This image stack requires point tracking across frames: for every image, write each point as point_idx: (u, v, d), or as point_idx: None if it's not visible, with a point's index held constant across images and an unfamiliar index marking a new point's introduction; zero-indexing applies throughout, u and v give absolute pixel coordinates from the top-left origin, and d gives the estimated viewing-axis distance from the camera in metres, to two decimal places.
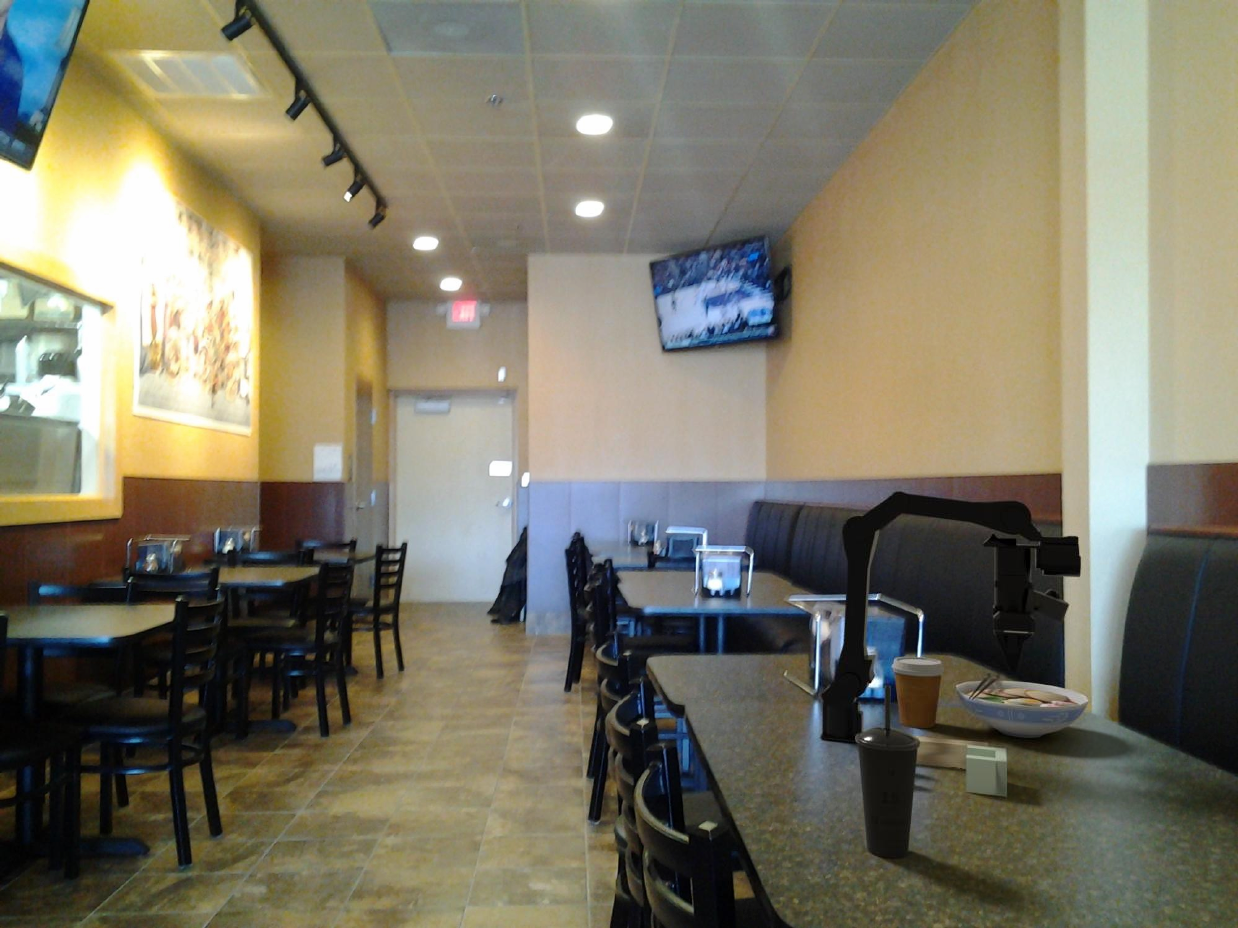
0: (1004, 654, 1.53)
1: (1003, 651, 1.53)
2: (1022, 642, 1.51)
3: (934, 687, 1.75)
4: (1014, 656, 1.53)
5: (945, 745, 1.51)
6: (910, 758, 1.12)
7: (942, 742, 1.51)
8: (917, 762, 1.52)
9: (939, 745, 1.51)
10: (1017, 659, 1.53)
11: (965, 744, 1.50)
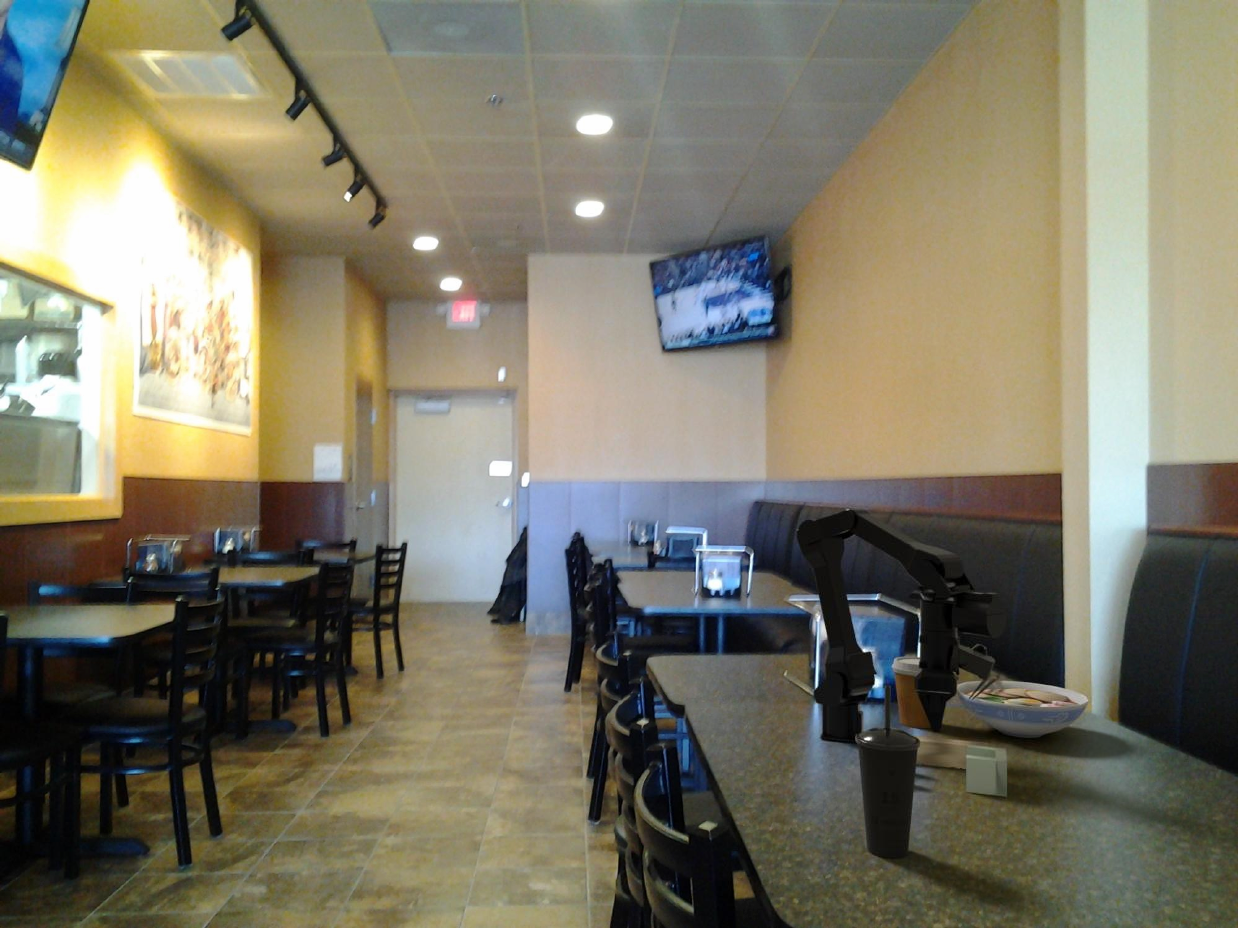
0: (927, 713, 1.48)
1: (926, 710, 1.48)
2: (944, 702, 1.46)
3: None
4: (937, 716, 1.47)
5: (945, 745, 1.51)
6: (910, 758, 1.12)
7: (942, 742, 1.51)
8: (917, 762, 1.52)
9: (939, 745, 1.51)
10: (940, 719, 1.47)
11: (965, 744, 1.50)
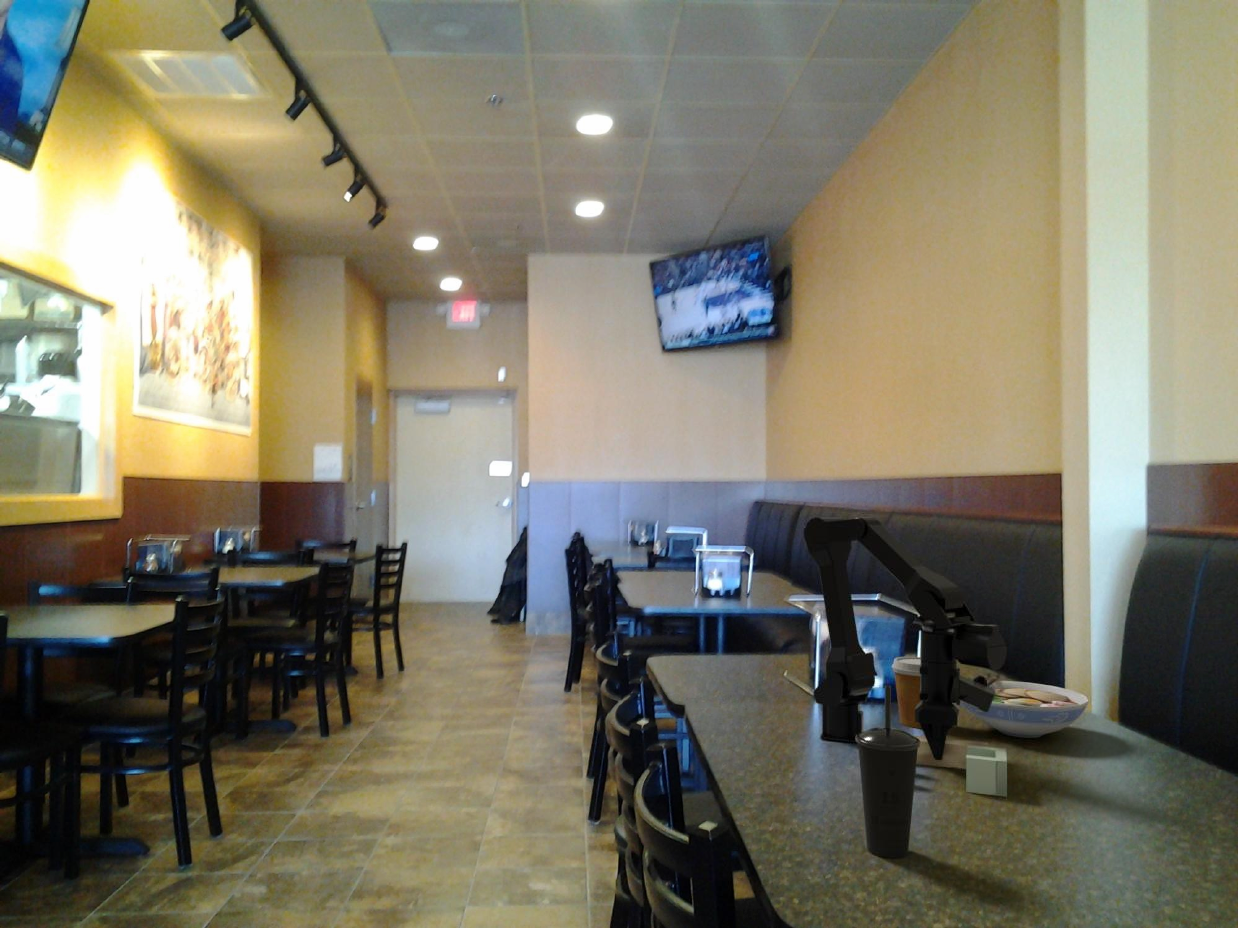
0: (928, 741, 1.50)
1: (927, 738, 1.50)
2: (946, 730, 1.49)
3: None
4: (938, 744, 1.50)
5: (945, 745, 1.50)
6: (910, 758, 1.12)
7: None
8: (917, 762, 1.52)
9: None
10: (941, 747, 1.50)
11: (965, 744, 1.50)
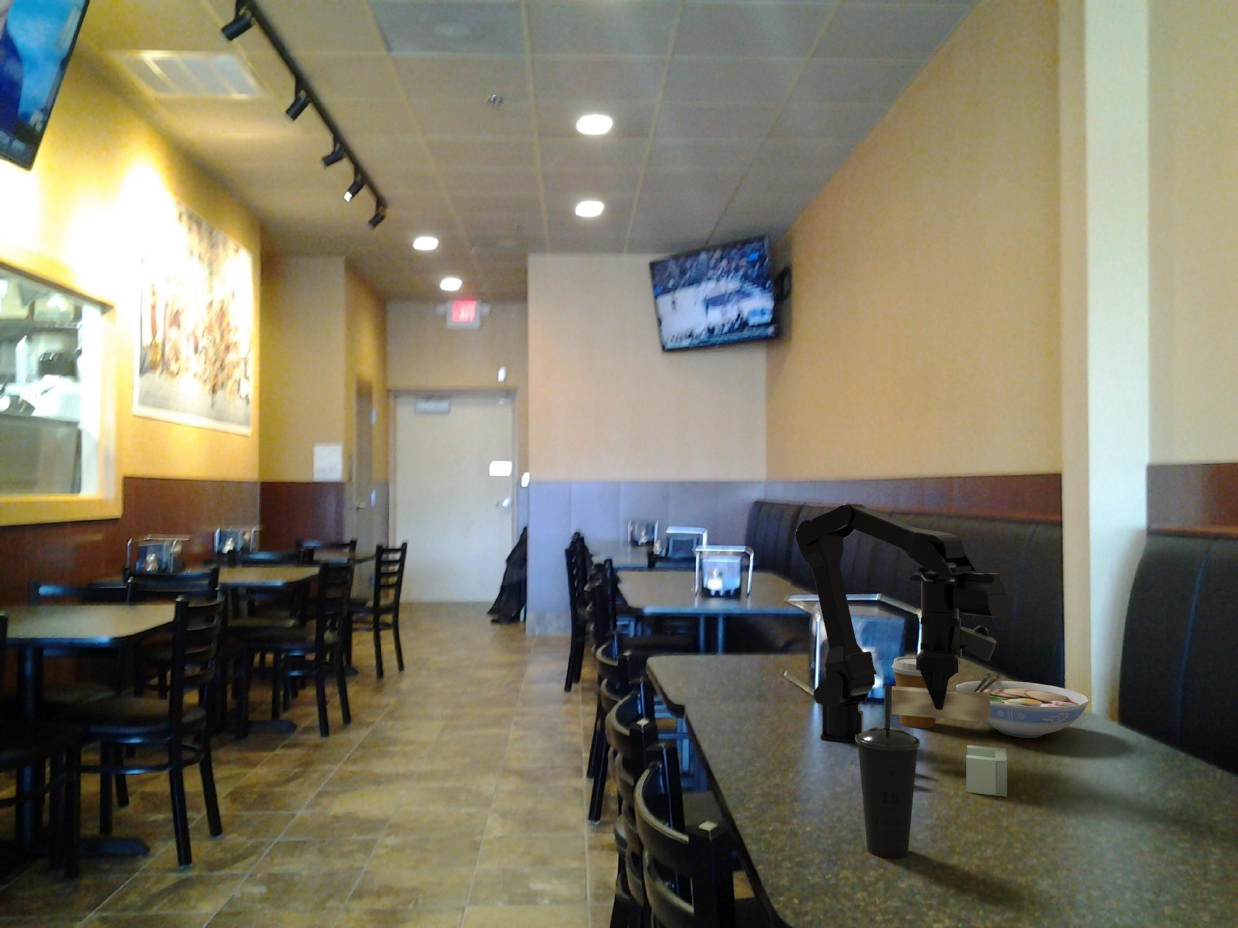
0: (929, 691, 1.50)
1: (928, 688, 1.50)
2: (947, 679, 1.49)
3: None
4: (939, 693, 1.50)
5: (947, 695, 1.51)
6: (910, 758, 1.12)
7: None
8: (919, 713, 1.52)
9: None
10: (942, 696, 1.50)
11: (967, 694, 1.50)
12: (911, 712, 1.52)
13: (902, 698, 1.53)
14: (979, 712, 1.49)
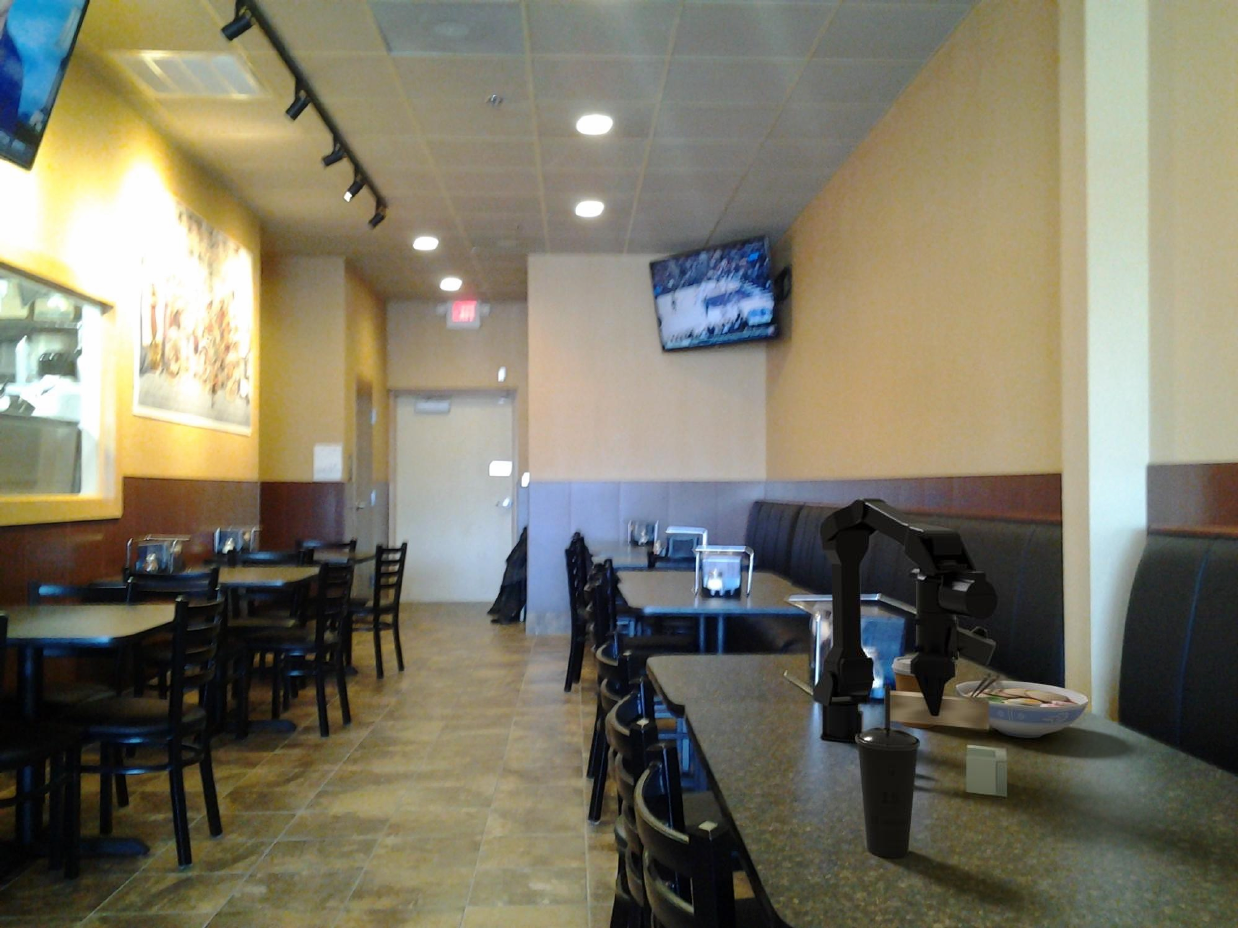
0: (925, 696, 1.41)
1: (923, 693, 1.41)
2: (943, 684, 1.40)
3: None
4: (935, 699, 1.41)
5: (943, 701, 1.42)
6: (910, 758, 1.12)
7: None
8: (913, 719, 1.43)
9: None
10: (938, 702, 1.41)
11: (964, 699, 1.41)
12: (905, 718, 1.43)
13: (895, 703, 1.44)
14: (977, 719, 1.40)
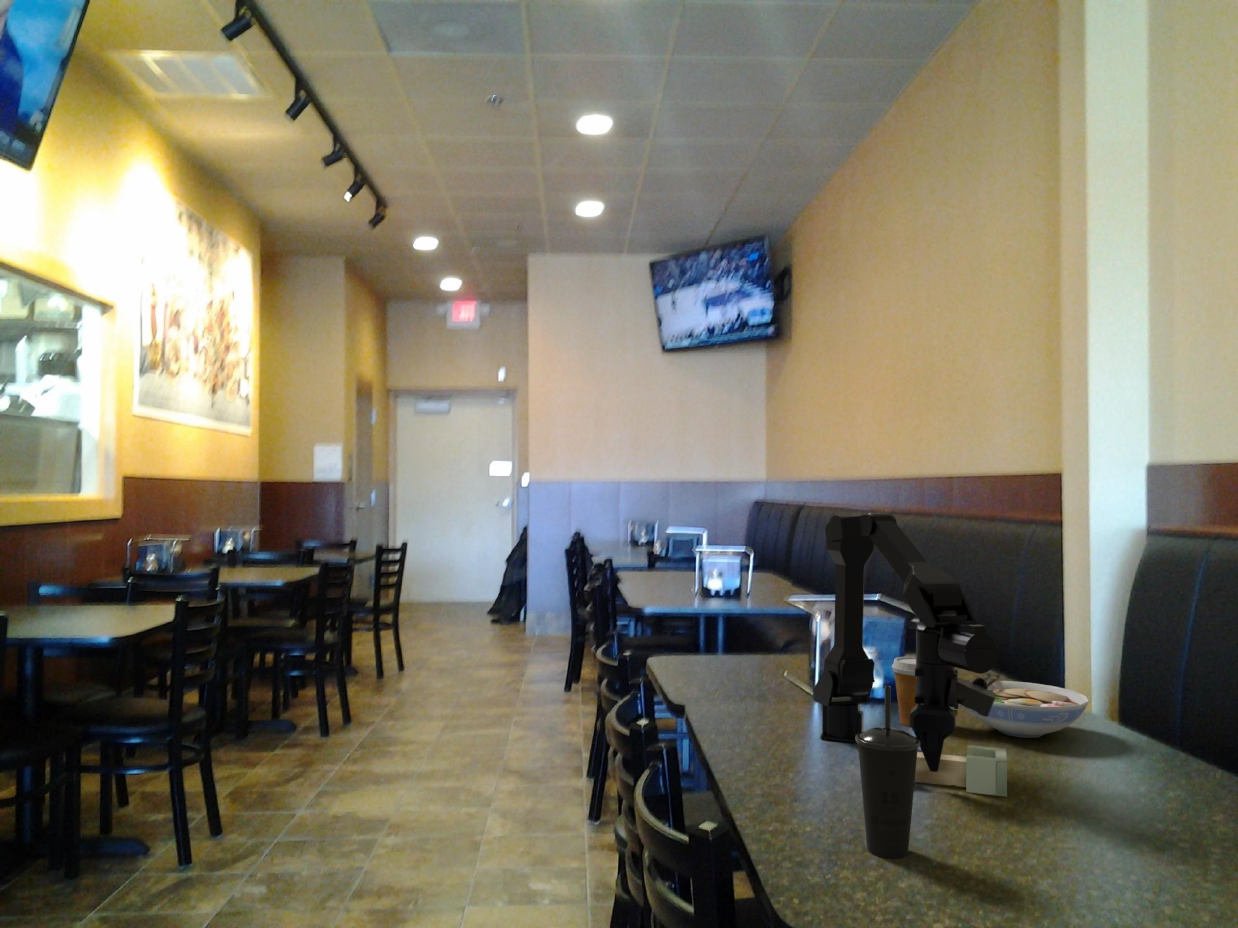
0: (923, 751, 1.39)
1: (922, 748, 1.39)
2: (942, 739, 1.37)
3: None
4: (934, 754, 1.38)
5: (942, 762, 1.41)
6: (910, 758, 1.12)
7: None
8: None
9: None
10: (937, 757, 1.38)
11: (964, 760, 1.41)
12: None
13: None
14: None
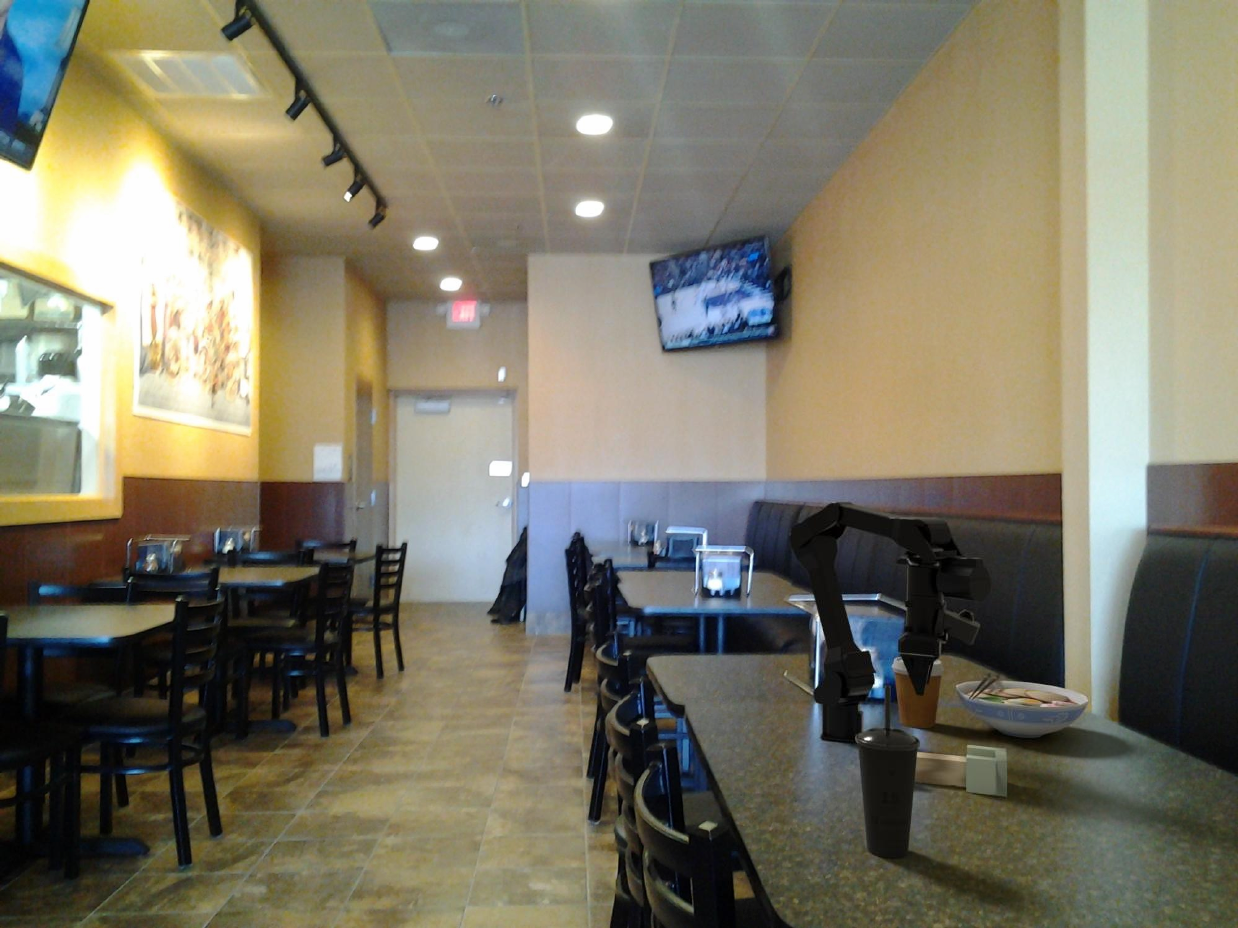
0: (910, 676, 1.49)
1: (909, 673, 1.49)
2: (928, 665, 1.47)
3: (934, 687, 1.75)
4: (920, 679, 1.49)
5: (942, 762, 1.41)
6: (910, 758, 1.12)
7: (939, 758, 1.42)
8: None
9: (936, 761, 1.42)
10: (923, 682, 1.49)
11: (964, 760, 1.41)
12: None
13: None
14: None
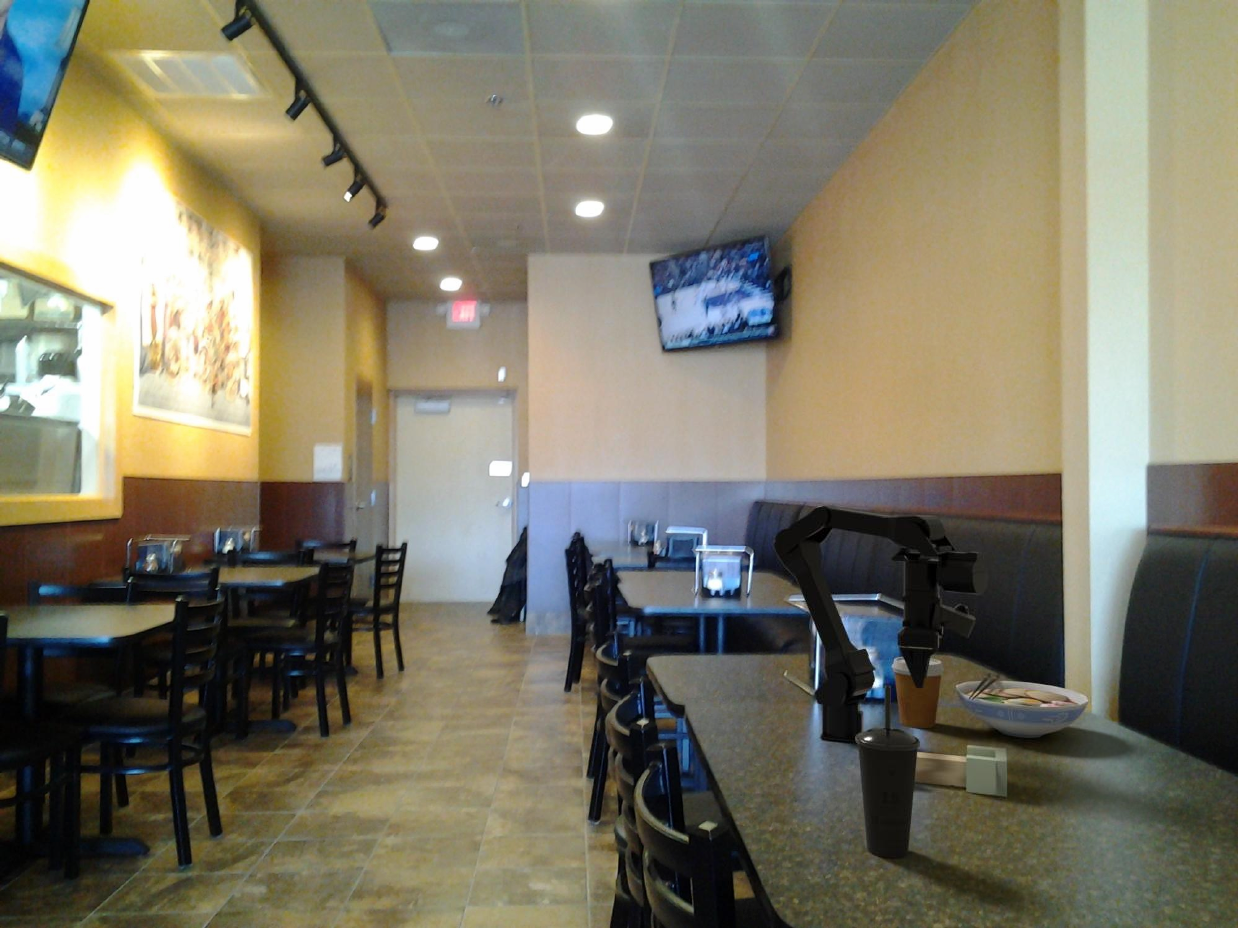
0: (910, 670, 1.53)
1: (909, 667, 1.53)
2: (927, 658, 1.51)
3: (934, 687, 1.75)
4: (919, 672, 1.52)
5: (942, 762, 1.41)
6: (910, 758, 1.12)
7: (939, 758, 1.42)
8: None
9: (936, 761, 1.42)
10: (922, 675, 1.52)
11: (964, 760, 1.41)
12: None
13: None
14: None
